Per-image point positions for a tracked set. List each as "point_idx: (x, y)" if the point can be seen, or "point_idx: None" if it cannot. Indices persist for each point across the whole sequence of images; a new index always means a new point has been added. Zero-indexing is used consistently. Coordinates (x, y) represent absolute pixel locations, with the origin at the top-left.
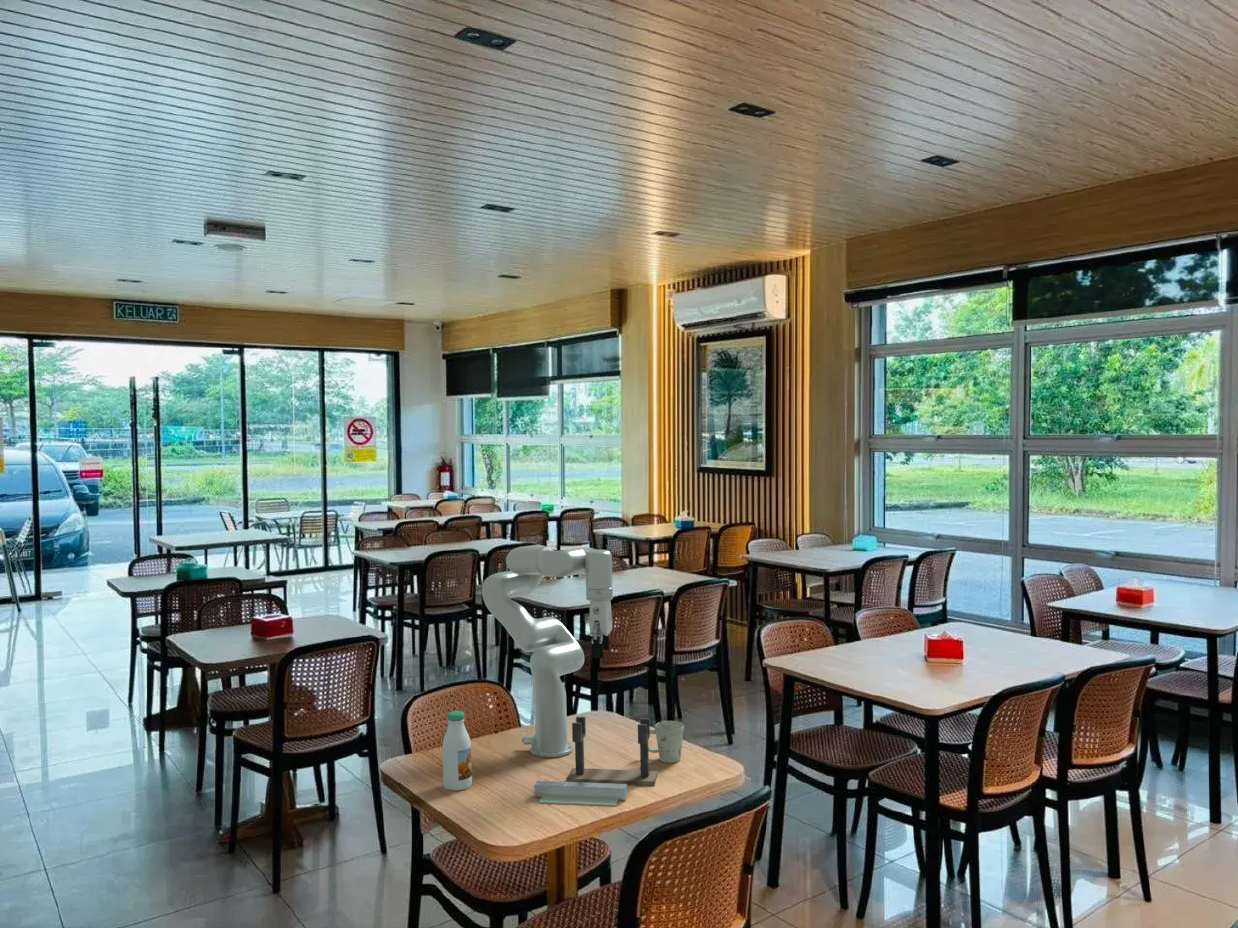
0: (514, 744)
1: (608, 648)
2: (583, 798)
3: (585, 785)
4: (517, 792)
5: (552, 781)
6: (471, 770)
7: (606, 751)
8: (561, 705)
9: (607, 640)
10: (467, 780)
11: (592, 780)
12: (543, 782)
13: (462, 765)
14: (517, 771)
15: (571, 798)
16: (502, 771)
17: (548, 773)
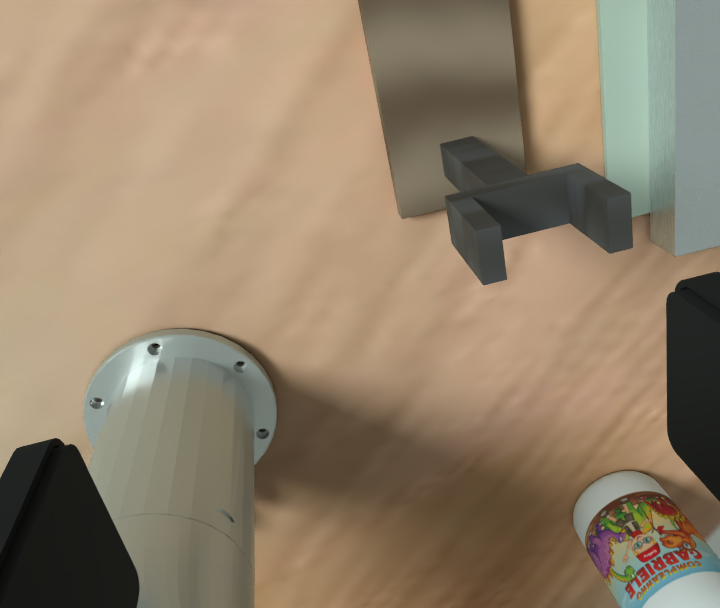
0: None
1: (63, 457)
2: None
3: (709, 26)
4: (644, 310)
5: (675, 194)
6: (634, 506)
7: (75, 182)
8: (182, 499)
9: (19, 606)
10: (650, 486)
11: (514, 67)
12: (690, 224)
13: (696, 532)
14: (446, 411)
15: None
16: (459, 456)
17: (436, 299)
